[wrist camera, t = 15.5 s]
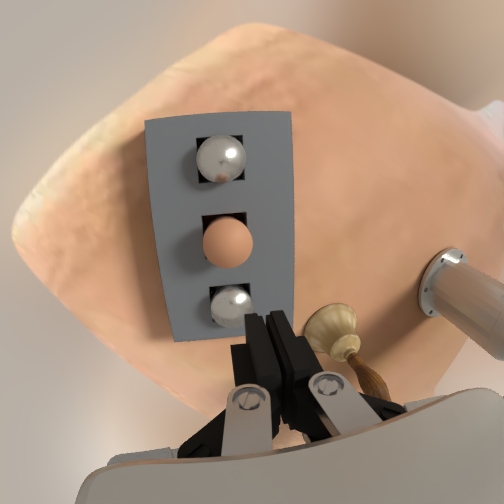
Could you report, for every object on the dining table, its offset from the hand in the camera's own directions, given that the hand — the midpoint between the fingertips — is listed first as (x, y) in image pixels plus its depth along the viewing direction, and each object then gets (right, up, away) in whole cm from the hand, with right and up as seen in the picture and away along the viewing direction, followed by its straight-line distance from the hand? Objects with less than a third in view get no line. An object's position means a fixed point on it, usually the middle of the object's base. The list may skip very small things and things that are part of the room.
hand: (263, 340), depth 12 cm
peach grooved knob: (-3, +6, +18) cm, 19 cm away
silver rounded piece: (-3, -1, +22) cm, 22 cm away
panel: (-4, +7, +20) cm, 21 cm away
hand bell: (+11, -7, +27) cm, 30 cm away
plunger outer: (-4, +14, +17) cm, 22 cm away
